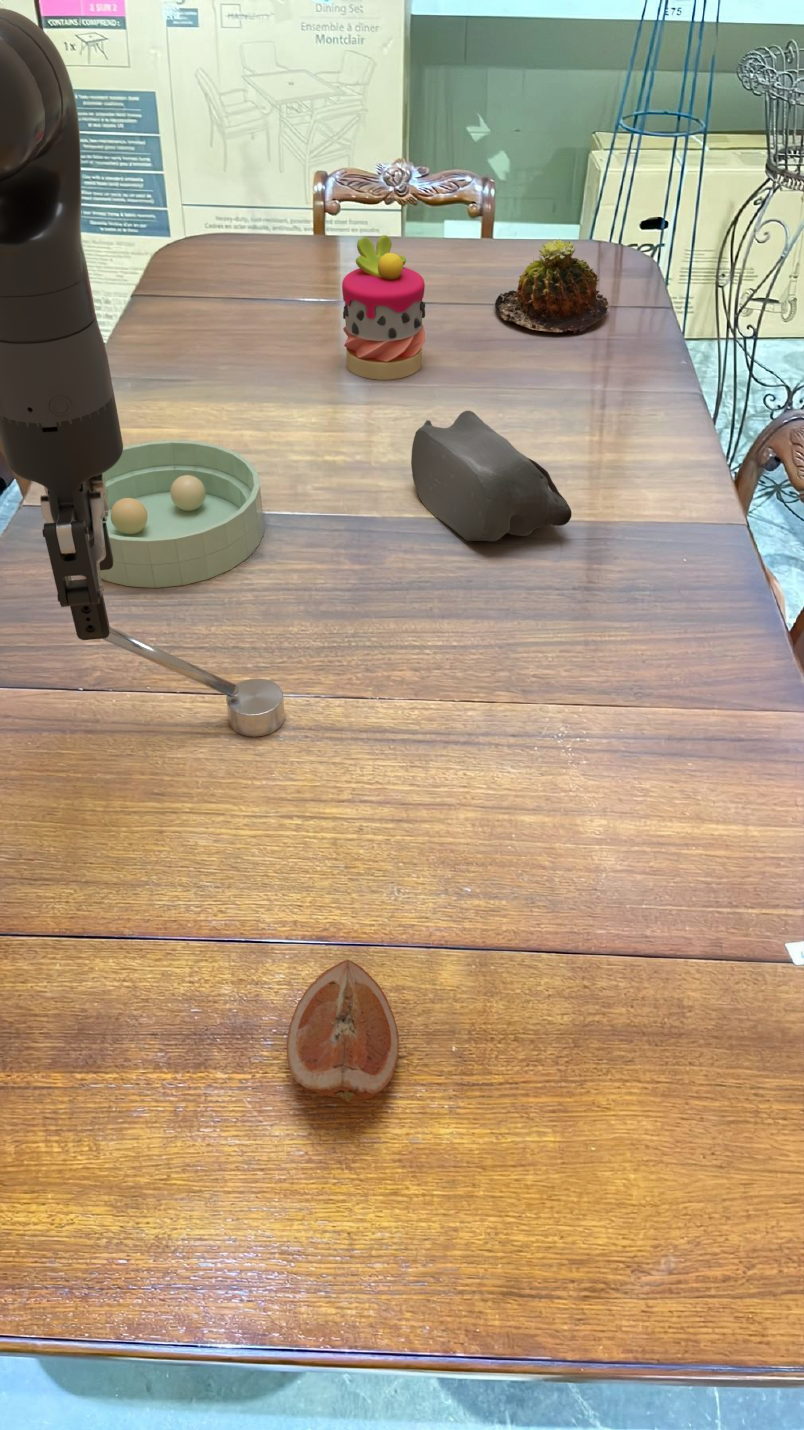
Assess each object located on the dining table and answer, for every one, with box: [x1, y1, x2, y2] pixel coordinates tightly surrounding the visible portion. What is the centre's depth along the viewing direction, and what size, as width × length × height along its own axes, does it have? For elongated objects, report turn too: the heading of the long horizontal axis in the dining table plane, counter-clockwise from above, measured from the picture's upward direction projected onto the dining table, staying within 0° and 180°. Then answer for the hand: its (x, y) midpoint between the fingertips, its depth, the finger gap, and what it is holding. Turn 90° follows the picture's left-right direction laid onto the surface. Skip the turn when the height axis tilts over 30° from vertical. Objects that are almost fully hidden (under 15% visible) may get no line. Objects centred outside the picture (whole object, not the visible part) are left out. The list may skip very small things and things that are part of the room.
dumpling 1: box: [110, 498, 148, 534], centre depth 108 cm, size 4×4×4 cm
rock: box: [410, 410, 572, 542], centre depth 111 cm, size 18×11×8 cm, turn 29°
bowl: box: [100, 439, 265, 589], centre depth 107 cm, size 19×19×6 cm
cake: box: [341, 234, 426, 381], centre depth 136 cm, size 10×11×15 cm
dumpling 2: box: [170, 475, 206, 511], centre depth 111 cm, size 4×4×4 cm
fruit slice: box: [286, 959, 400, 1102], centre depth 64 cm, size 8×7×5 cm
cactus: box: [494, 238, 610, 335], centre depth 150 cm, size 17×16×10 cm
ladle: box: [103, 626, 286, 738], centre depth 85 cm, size 14×5×10 cm, turn 96°
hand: (97, 601), depth 79 cm, fingers open, 8 cm apart
